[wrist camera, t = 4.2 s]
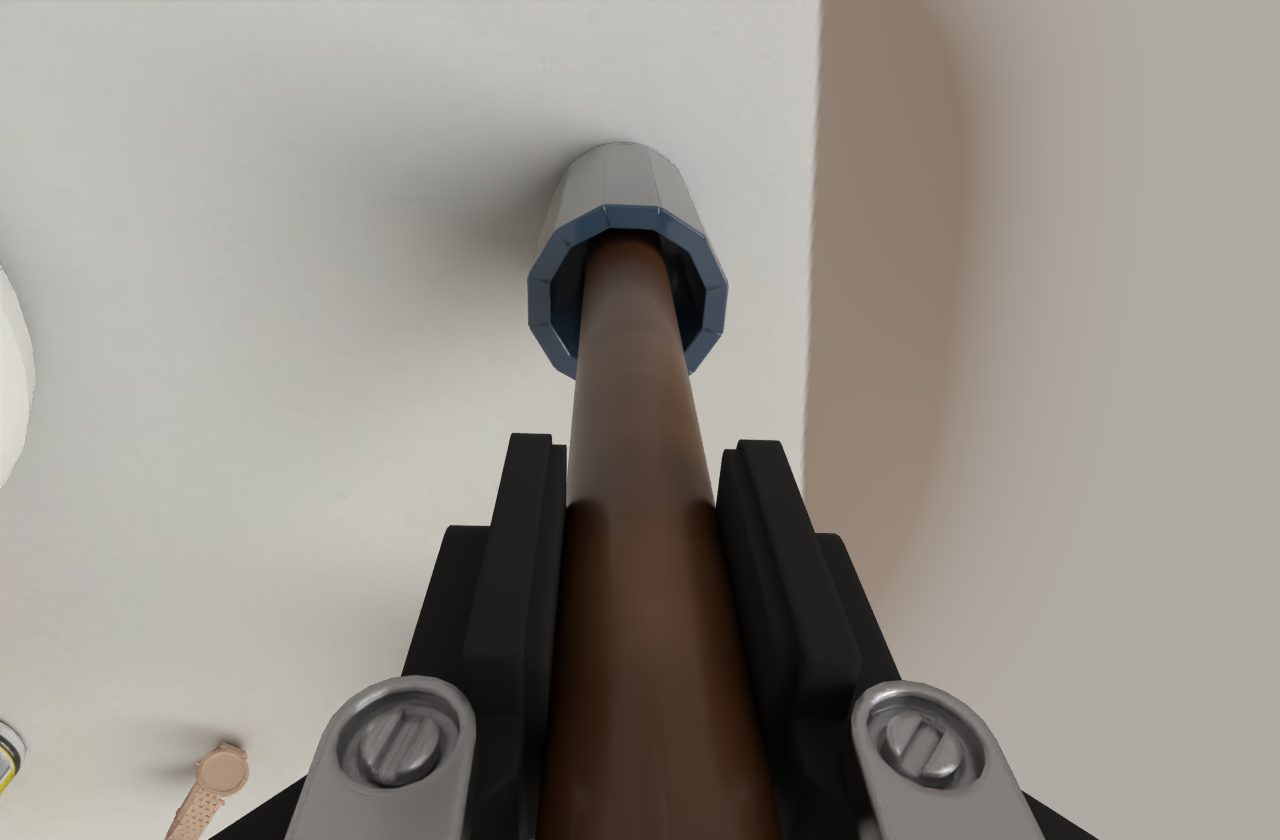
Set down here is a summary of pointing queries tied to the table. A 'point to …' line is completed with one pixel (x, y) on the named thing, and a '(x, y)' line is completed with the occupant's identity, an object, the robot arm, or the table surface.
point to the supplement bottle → (9, 755)
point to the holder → (625, 199)
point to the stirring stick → (645, 592)
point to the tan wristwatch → (209, 791)
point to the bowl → (13, 378)
